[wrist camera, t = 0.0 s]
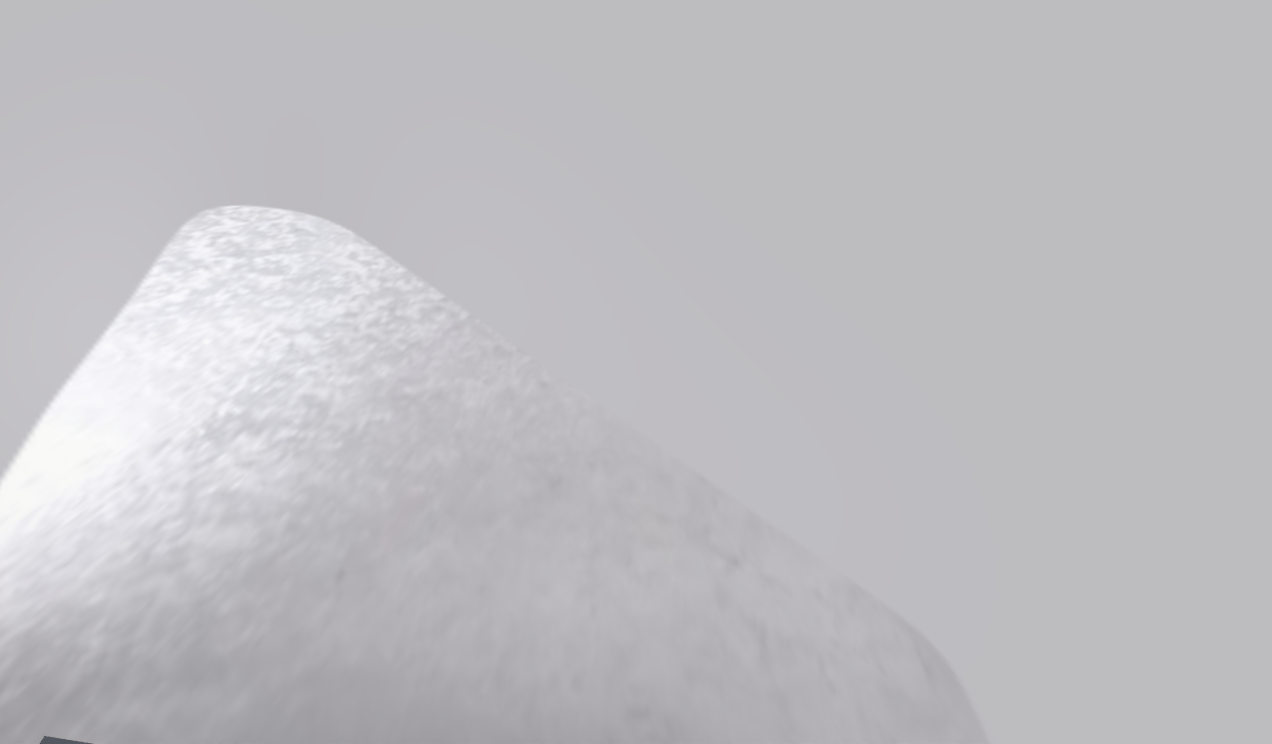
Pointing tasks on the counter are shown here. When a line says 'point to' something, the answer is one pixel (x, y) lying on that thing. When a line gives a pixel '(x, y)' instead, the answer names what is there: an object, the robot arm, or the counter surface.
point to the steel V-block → (59, 741)
